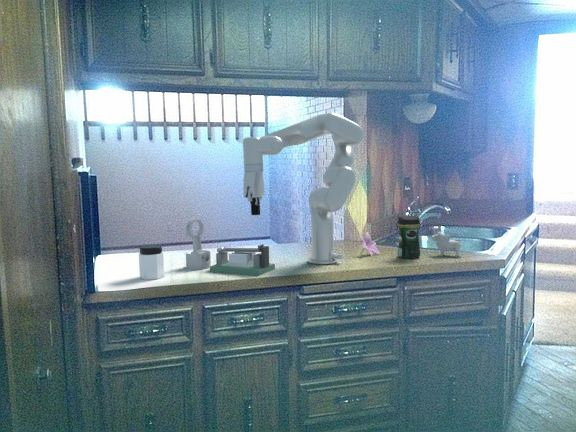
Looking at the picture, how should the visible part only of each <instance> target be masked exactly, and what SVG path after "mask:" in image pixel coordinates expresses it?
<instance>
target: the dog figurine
mask: <svg viewBox="0 0 576 432" xmlns="http://www.w3.org/2000/svg"><path fill="white" fill-rule="evenodd" d="M431 239H432V240H433V241H434V242H436V247H437V248H438V249H439V250H440V254H439V256H440V257H443V256H444V253H445V250H447V251H454V252H455V256H454V257H455V258H458V257H459V254H460V250H461V247H462V241H461V240H460V239H459V238H455V239H451V236H450V235H449V234H446V235H445V234H444V233H443V232H441V231H437V234H434V235H431Z"/></svg>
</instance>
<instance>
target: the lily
mask: <svg viewBox="0 0 576 432" xmlns="http://www.w3.org/2000/svg"><path fill="white" fill-rule="evenodd" d="M359 237H360V239H361V240H362V241H363V243H362V245H361V247H362V248H363V249H362V250H361V252H360V254H361V255H362V253H363V251H364V250H365V249H367V250H368V252H369V255H370V256H371V257H373V254H374V253H376V254H378V255H381V252H380V251H379V249H378V248H377V247H376V245H377V243H376V242H375V241H373V240H372V237H371V235H370V234H369V232H368V231H366V233H365V236H363V235H359Z"/></svg>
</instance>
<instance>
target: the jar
mask: <svg viewBox="0 0 576 432" xmlns="http://www.w3.org/2000/svg"><path fill="white" fill-rule="evenodd" d="M164 262H165V261H164V252H163V248H162V245H161V244H145V245H144V244H143V245H141V246H139V253H138V265H139V266H138V268H139V279H142V280H143V281H144V280H145V281H151V280H152V281H153V280H159V279H162V278H164V277H165V269H164V268H165V267H164V266H165V265H164Z"/></svg>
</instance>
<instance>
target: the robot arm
mask: <svg viewBox="0 0 576 432" xmlns="http://www.w3.org/2000/svg"><path fill="white" fill-rule="evenodd" d="M364 133H365V132H364V129H363V128H362V127H361V126H360V124H357V123H356V122H354V121H352V120H350V119H349V118H347V117H344V116H343V115H341V114H339V113H335V112H328V113H327V112H326V113H321V114H320V113H319V114H317V115H315V116H312V117H310V118H308V119H305V120H303V121H300V122H297V123H295V124H292V125H290V126H287V127H284V128H281V129H279V130H275V131H273V132H271V133H268V134H265V135H262V136H261V137H259V136H247V137H244V138H243V140H242V150H243V151H242V152H243V170H244V172H243V174H244V175H243V185H242V186H243V193H242V194H243V198H246V199H247V202H249V205H250V215H251V216H259V215H261V206H260V205H261V200H262V199H263V197H264V195H265V180H264V173H263V172H264V160H263V159H264V158H263V157H264V156H275V155H278V154H280V153H281V152H282V151H283V149H284V148H287V147H294V146H299V145H302V144H305V143H308V142H310V141H313V140H315V139H317V138H320V137H323V136H325V135H331V138H332V141H333V142H332V143H333V144H334V149H335V151H334V155H333V157H332V160H331V161H330V163H329V165H328V166H327V169H326V170H325V171H324V174H323V176H322V182H323V184H324V186H326V187H317V188H314V189H313V190H312V191H311V193H310V194H309V196H308V205H309V211H310V240H311V241H310V247H311V248H310V251H311V252H310V253H311V257H309V258H307V262H308V263H309V264H314V265H329V264H336V263H337V262H338V260H343V258H344V257H343V256H344V255H343V254H342V253H337V252H336V250H334V215H333V213H335V212H338V211H340V210H341V209H342V208H343V206H344V205H345V203H346V201H347V200H348V198H349V196H350V195H351V192H352V190H353V188H354V186H355V184H356V180H357V179H356V172H355V171H354V170H353V168H351V167H352V164H353V162H354V159H355V151H354V148H353V147H354V146H356V145H358V144H361V142H362V141H363V140H364V137H365V134H364Z"/></svg>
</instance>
